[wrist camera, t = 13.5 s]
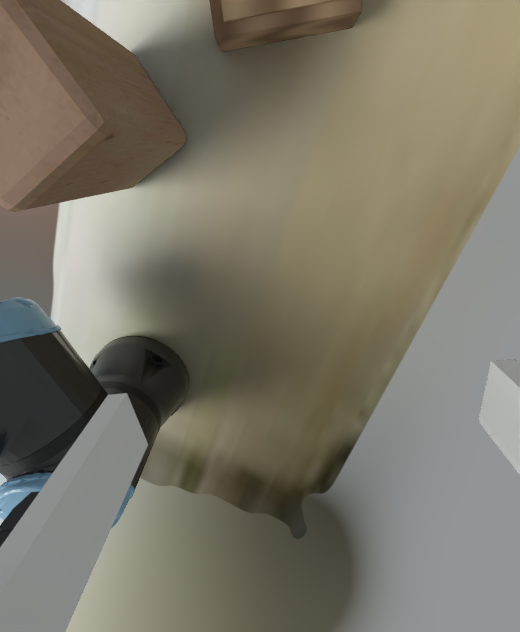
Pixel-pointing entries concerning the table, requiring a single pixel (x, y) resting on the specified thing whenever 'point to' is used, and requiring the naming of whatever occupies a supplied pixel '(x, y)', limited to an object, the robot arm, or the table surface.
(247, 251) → the table surface
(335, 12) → the brown open tray
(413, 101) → the table surface
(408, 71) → the table surface
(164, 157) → the wooden block
